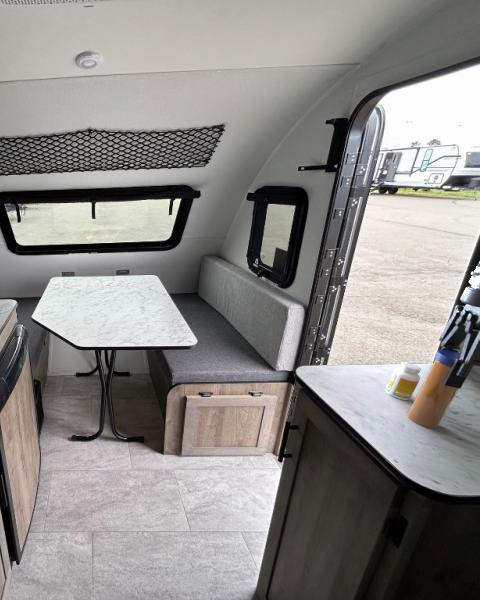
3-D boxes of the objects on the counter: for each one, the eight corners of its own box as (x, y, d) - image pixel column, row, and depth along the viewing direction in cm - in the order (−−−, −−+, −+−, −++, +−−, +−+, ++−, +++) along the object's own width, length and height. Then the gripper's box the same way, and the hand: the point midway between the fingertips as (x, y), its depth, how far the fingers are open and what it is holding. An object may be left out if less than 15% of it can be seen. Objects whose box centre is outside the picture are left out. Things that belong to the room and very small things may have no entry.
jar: (433, 419, 84) (467, 357, 77) (440, 431, 80) (477, 367, 73) (404, 410, 87) (435, 350, 80) (409, 422, 82) (442, 359, 76)
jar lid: (429, 353, 81) (433, 346, 80) (464, 360, 78) (468, 354, 78) (441, 364, 76) (444, 358, 75) (478, 373, 73) (482, 366, 72)
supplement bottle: (415, 400, 91) (430, 370, 88) (399, 401, 91) (414, 371, 87) (395, 388, 96) (408, 360, 93) (380, 389, 95) (393, 361, 92)
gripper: (448, 276, 80) (409, 357, 88) (495, 298, 64) (442, 394, 72) (491, 281, 77) (446, 365, 85) (551, 306, 61) (489, 406, 69)
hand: (444, 378), depth 79 cm, fingers closed on jar lid, 6 cm apart
